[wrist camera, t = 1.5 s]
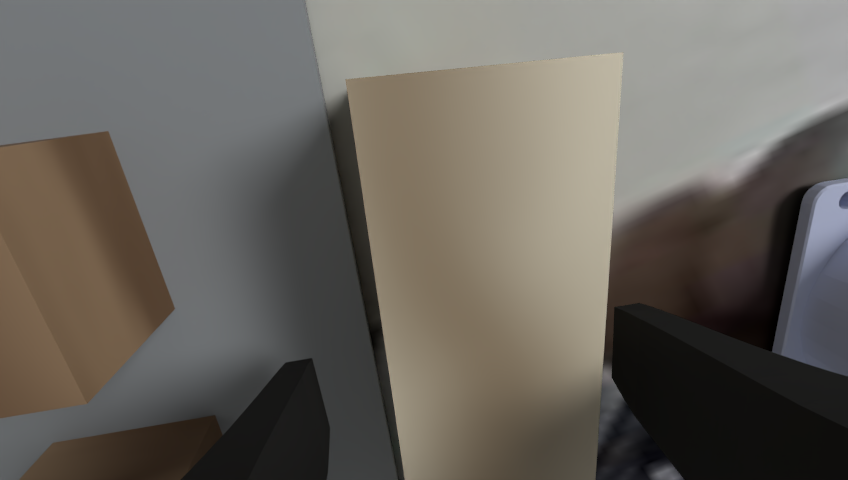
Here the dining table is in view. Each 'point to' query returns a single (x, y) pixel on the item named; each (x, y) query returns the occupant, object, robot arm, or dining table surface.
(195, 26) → the mat
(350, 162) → the dining table surface
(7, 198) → the block
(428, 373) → the plank
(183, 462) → the block
